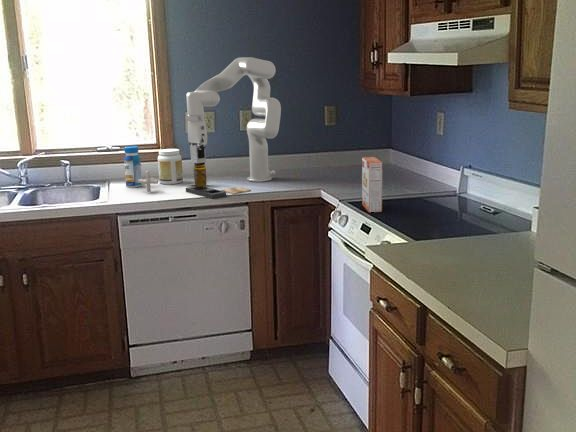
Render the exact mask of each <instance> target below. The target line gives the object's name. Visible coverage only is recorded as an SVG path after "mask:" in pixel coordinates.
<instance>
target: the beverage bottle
mask: <svg viewBox="0 0 576 432" xmlns="http://www.w3.org/2000/svg"><path fill="white" fill-rule="evenodd" d="M123 150H124V154H125V156H124V158H123V162H124V165H123V168H124V174H125V175H124V177H125V178H124V179H125V187H126V188H138V187H142V186H143V185H142V184H141V183H138V180H139V179H142V178H143V175H142V163H141V160H142V159H141V157H140V155H139V146H138V145H127V146H125V147H124V148H123Z"/></svg>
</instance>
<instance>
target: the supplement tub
mask: <svg viewBox="0 0 576 432" xmlns="http://www.w3.org/2000/svg"><path fill="white" fill-rule="evenodd" d="M182 161H183V160H182V156H181V154H180V149H179V148H165V149H164V148H163V149H160V150H158V156H157V168H158V169H157V170H158V183H160V184H162V185H178V184H181V183H182V182H183V181H184V175H183V162H182Z"/></svg>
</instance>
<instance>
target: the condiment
mask: <svg viewBox="0 0 576 432" xmlns="http://www.w3.org/2000/svg"><path fill="white" fill-rule="evenodd" d="M193 164H194V167H193V178H194V179H193V180H194V181H193V183H194V184H189V185H188V187H194V186H204V187H210V185H208V183H207V169H206V162H202V163H193Z"/></svg>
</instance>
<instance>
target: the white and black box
mask: <svg viewBox="0 0 576 432" xmlns="http://www.w3.org/2000/svg"><path fill="white" fill-rule="evenodd" d="M200 146H201V145H200ZM189 150H190V151H189V152H190V162H191V163H193V164H194V163H202V162H205V163H206V162H207V157H206V155H207V154H205V158H201V159H199V157H198V150H199V147H198V144H196V145H195V144H194V145H190V144H189ZM204 151H205V152H206V149H205V150H204Z"/></svg>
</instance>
